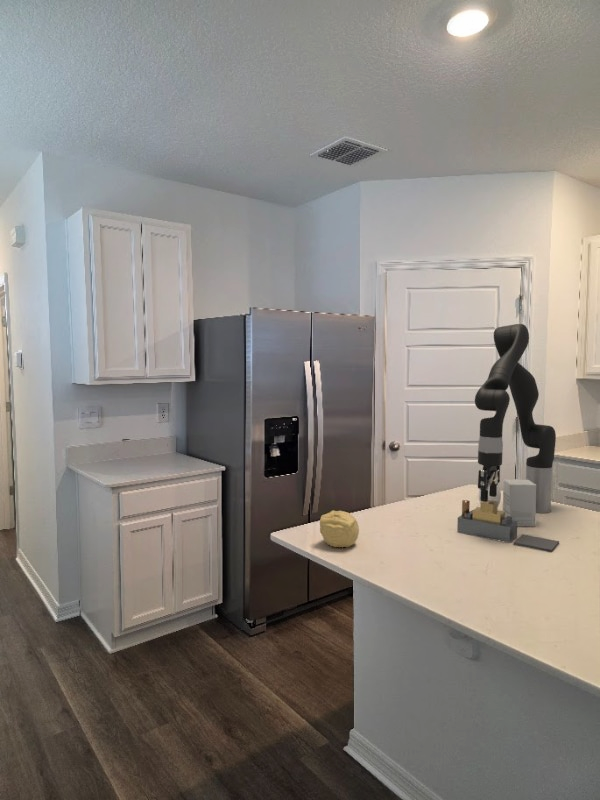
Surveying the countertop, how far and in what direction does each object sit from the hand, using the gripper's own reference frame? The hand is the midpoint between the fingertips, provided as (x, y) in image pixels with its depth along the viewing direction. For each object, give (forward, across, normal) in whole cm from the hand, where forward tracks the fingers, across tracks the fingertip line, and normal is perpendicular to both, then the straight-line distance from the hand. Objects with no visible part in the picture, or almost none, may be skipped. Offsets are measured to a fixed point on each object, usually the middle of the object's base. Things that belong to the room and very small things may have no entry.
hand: (488, 498), depth 174 cm
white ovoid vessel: (+12, -28, -9) cm, 32 cm away
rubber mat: (+12, 0, +15) cm, 19 cm away
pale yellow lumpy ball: (+13, +39, -33) cm, 52 cm away
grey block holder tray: (+12, 0, 0) cm, 12 cm away
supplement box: (+12, -20, +4) cm, 24 cm away
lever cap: (+7, 0, 0) cm, 7 cm away
